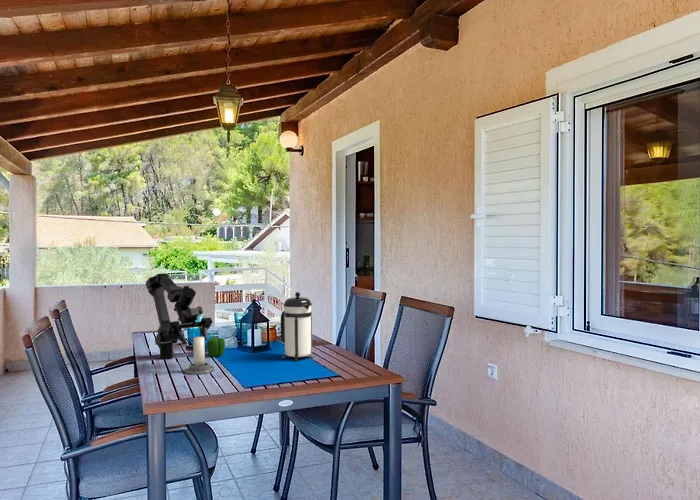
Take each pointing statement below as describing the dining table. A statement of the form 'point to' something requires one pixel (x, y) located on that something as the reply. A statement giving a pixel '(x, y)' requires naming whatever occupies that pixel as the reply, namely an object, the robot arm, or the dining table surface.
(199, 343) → the candle
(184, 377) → the dining table surface
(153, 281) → the robot arm
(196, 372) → the holder
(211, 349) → the bell pepper
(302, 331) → the coffee press
